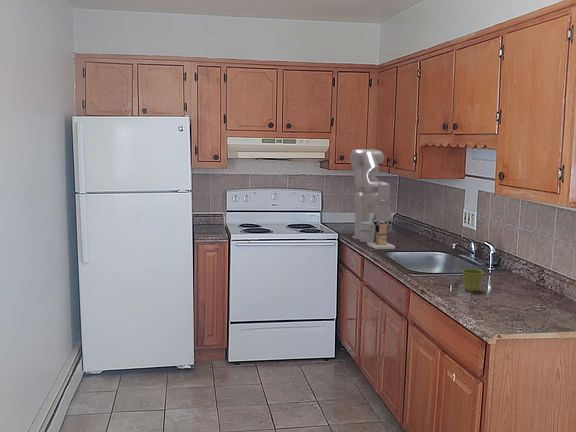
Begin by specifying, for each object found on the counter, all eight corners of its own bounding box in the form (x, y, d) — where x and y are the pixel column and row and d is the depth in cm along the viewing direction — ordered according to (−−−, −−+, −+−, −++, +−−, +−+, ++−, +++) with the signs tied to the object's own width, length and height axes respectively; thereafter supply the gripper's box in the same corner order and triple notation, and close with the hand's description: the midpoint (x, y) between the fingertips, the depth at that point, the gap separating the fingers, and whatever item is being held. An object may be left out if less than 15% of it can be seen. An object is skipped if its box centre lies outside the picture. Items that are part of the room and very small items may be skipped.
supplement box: (359, 242, 397) (360, 222, 396) (363, 240, 404) (364, 221, 402) (370, 243, 394) (371, 223, 392) (374, 241, 400) (375, 222, 399)
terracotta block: (376, 232, 383) (376, 223, 382) (383, 232, 384) (384, 223, 383) (379, 233, 378) (379, 224, 377) (387, 233, 379) (387, 224, 378)
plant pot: (479, 293, 272) (480, 274, 271) (458, 290, 277) (459, 271, 276) (484, 289, 280) (486, 270, 278) (464, 286, 285) (465, 268, 283)
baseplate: (367, 244, 387) (367, 242, 387) (386, 244, 390) (386, 242, 390) (375, 248, 374) (375, 246, 374) (395, 248, 377) (395, 246, 377)
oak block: (375, 243, 384) (376, 234, 383) (383, 243, 385) (383, 234, 384) (378, 245, 379) (379, 235, 378) (386, 244, 380) (386, 235, 379)
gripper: (393, 202, 384) (392, 230, 386) (367, 202, 380) (366, 231, 383) (398, 203, 377) (396, 232, 379) (372, 203, 373) (370, 233, 375)
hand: (381, 231), depth 381 cm, fingers closed on terracotta block, 5 cm apart
